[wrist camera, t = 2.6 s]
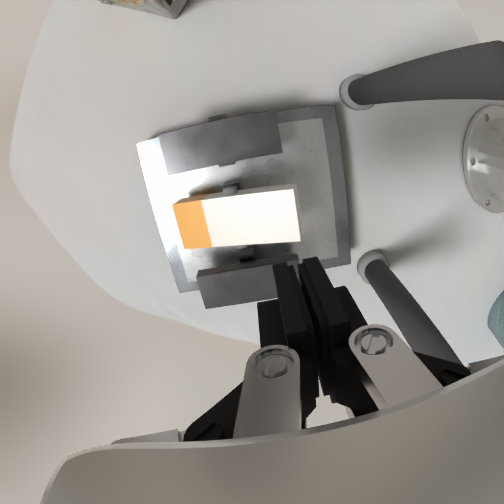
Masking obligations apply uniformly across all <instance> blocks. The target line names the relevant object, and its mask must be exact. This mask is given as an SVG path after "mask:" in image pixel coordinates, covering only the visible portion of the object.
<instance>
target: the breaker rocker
mask: <svg viewBox="0 0 504 504" xmlns="http://www.w3.org/2000/svg"><path fill="white" fill-rule="evenodd" d="M171 206H172V210H173V214H174V217H175V221H176V225H177V228H178V232H179V235H180V239H181V242H182V246H183V249H195V248H210V247H220V246H235V247H236V248H238V249H241V248H245V247H247V246H248V245H251V244H266V243H282V242H298V241H301V239H302V235H303V226H302V218H301V211H300V204H299V197H298V190H297V184H286V185H277V186H268V187H259V188H251V189H243V190H237V186H231V187H227V188H224V189H223V192H221V193H214V194H204V195H198V196H191V197H185V198H181V199H179V200H178V201H176V202H175V203H173V204H172V205H171Z"/></svg>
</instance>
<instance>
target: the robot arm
mask: <svg viewBox="0 0 504 504" xmlns="http://www.w3.org/2000/svg"><path fill="white" fill-rule="evenodd" d="M463 168H464V175H465V179H466V183H467V186H468V189H469V191H470V193H471V195H472V197H473V198H474V200H475V201H476V202H477V203H478V204H479V205H480V206H481V207H483V208H484V209H486V210H488V211H490V212H494V213H501V212H504V107H502V106H495V105H491V106H486V107H484V108H482V109H480V110H479V111H478V112H477V113H476V114H475V115H474V117H473V119H472V120H471V122H470V124H469V126H468V129H467V131H466V136H465V140H464V147H463ZM297 267H298V275H299V281H298V278H297V275H296V272H295V269H294V266H293V265H289V266H288V265H287V262H284V263H279V264H273V265H272V268H273V274H274V279H275V285H276V291H277V297H278V299H275V300H269V301H264V302H258V303H257V308H258V320H259V332H260V344H261V349H259V350H257V351H256V352H254V353H253V354H252V355H251V356H250V357H249V359H248V361H247V364H246V369H245V375H244V380H243V382H242V383H240V384H239V385H238V386H237V387H236V388H235V389H233V390H232V391H231V392H230V393H229V394H228V395H226V396H225V397H224V398H223V399H222V400H220V401H219V402H218V403H217V404H216V405H214V406H213V407H212V408H211V409H209V410H208V411H207V412H206V413H205V414H203V415H202V416H201V417H200V418H198V419H197V420H196V421H195V422H193V423H192V424H191V425H190V426H189V427H188V428H187V430H186V431H182V432H179V431H178V430H177V429H175V430H170V431H165V432H160V433H155V434H149V435H143V436H137V437H131V438H125V439H120V440H117V441H114V442H113V443H111V444H110V445H104V446H98V447H94V448H91V449H86V450H83V451H80V452H77V453H75V454H73V455H70V456H68V457H67V458H66V459H64V460H63V461H62V462H61V463H60V464H59V465H58V467H57V468H56V470H55V471H54V473H53V475H52V477H51V479H50V481H49V483H48V485H47V488H46V490H45V492H44V495H43V498H42V500H41V504H504V355H502V356H499V357H495V358H491V359H487V360H482V361H478V362H473V363H469V364H468V367H465V366H463V365H461V364H458V363H455V362H451V361H448V360H444V359H440V358H437V357H433V356H429V355H426V354H422V353H419V352H415V351H412V350H411V349H410V348H409V347H408V346H407V345H406V343H405V342H404V341H403V340H402V339H401V338H400V337H399V336H398V335H397V333H396V332H395V331H393V330H392V329H391V328H389V327H386V326H384V325H378V324H371V325H368V324H367V322H366V321H365V319H364V317H363V315H362V313H361V312H360V310H359V308H358V306H357V305H356V303H355V301H354V299H353V298H352V296H351V294H350V293H349V291H348V289H347V288H346V286H341V287H336V288H334V287H333V285H332V284H331V282H330V280H329V278H328V276H327V274H326V272H325V270H324V268H323V266H322V265H321V263H320V261H319V259H318V257H317V256H316V257H311V258H306V259H302V263H300V264H297ZM299 283H300V284H299ZM318 376H319V380H320V383H321V387H322V391H323V394H324V396H326V395H330V398H331V402H332V403H336V402H337V403H339V404H341V405H344V406H346V411H347V414H348V416H349V418H350V419H347V420H343V421H339V422H335V423H331V424H326V425H321V426H317V427H312V428H307V419H306V418H307V417H308V415H310V413H311V412H312V411H313V410H314V409H315V408H316V399H315V398H317V397H319V383H318Z"/></svg>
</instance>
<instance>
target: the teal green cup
mask: <svg viewBox="0 0 504 504" xmlns="http://www.w3.org/2000/svg"><path fill="white" fill-rule="evenodd" d="M488 327H489V329H490V330H491V332H492V333H493V334H494V335H495V337H496V338H497V340H498V342H499V343H500V344H501V346H502V347H503V348H504V291H503V292H502V293H501V294H500V295H499V297H498V298H497V299H496V301H495V303H494V304H493V306H492V308H491V310H490V313H489V316H488Z"/></svg>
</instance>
